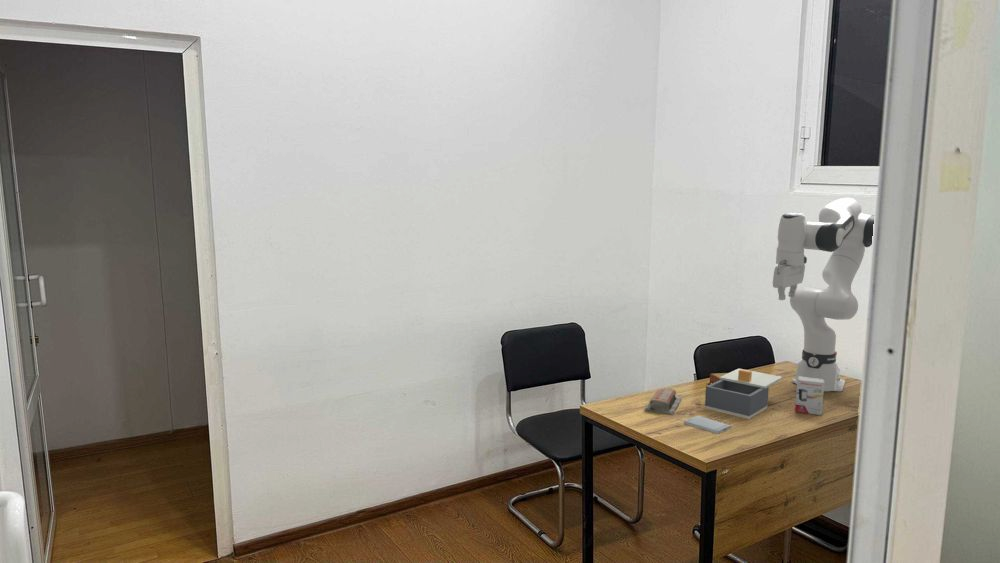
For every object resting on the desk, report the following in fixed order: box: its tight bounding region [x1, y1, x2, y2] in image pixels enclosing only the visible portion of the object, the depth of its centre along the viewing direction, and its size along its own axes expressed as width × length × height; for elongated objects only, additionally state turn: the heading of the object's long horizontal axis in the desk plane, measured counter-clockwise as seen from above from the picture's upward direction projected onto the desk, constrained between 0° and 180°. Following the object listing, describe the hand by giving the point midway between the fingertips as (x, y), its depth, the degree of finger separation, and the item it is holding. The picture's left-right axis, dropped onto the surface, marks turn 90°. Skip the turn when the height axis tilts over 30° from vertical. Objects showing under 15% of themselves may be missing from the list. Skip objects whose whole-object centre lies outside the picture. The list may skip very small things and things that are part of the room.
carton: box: [709, 372, 729, 384], centre depth 264 cm, size 8×16×4 cm, turn 13°
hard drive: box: [683, 415, 732, 435], centre depth 222 cm, size 2×8×12 cm
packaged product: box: [644, 388, 682, 416], centre depth 242 cm, size 18×5×10 cm
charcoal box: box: [704, 380, 770, 420], centre depth 240 cm, size 16×16×8 cm
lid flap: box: [720, 368, 783, 389], centre depth 248 cm, size 17×17×4 cm
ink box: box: [794, 376, 825, 416], centre depth 236 cm, size 9×5×12 cm, turn 67°
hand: (786, 298), depth 238 cm, fingers open, 8 cm apart
